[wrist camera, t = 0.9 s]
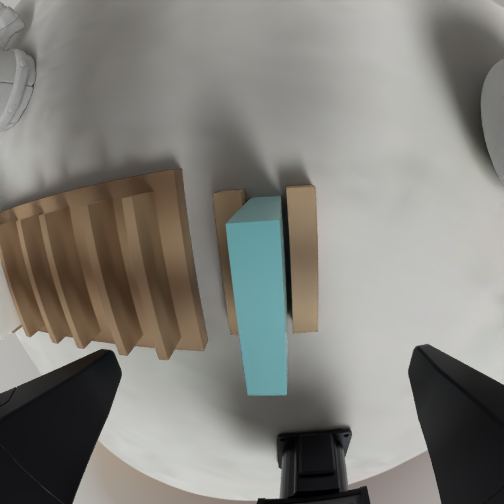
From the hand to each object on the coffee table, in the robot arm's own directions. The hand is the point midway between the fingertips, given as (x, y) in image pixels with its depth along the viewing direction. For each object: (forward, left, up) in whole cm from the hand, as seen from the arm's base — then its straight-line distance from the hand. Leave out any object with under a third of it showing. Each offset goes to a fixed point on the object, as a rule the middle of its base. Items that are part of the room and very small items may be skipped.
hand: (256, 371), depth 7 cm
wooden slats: (0, 0, -9) cm, 9 cm away
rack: (0, +14, -9) cm, 17 cm away
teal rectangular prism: (0, 0, -9) cm, 9 cm away
